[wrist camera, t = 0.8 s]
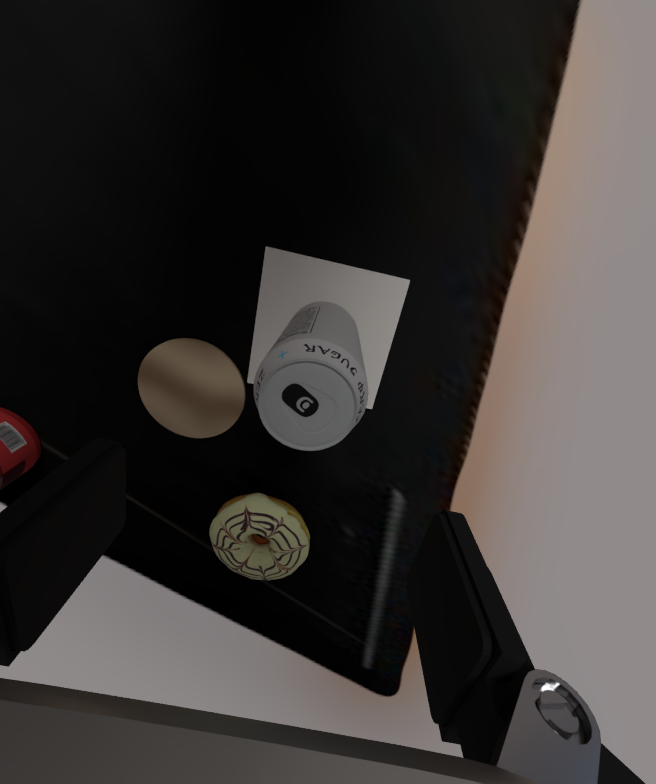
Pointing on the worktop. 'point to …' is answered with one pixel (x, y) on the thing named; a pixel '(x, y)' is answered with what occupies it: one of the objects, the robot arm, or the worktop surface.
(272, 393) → the energy drink can
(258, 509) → the decorated donut
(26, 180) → the worktop surface
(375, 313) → the tile
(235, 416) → the cork coaster
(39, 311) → the worktop surface
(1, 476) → the canned food
